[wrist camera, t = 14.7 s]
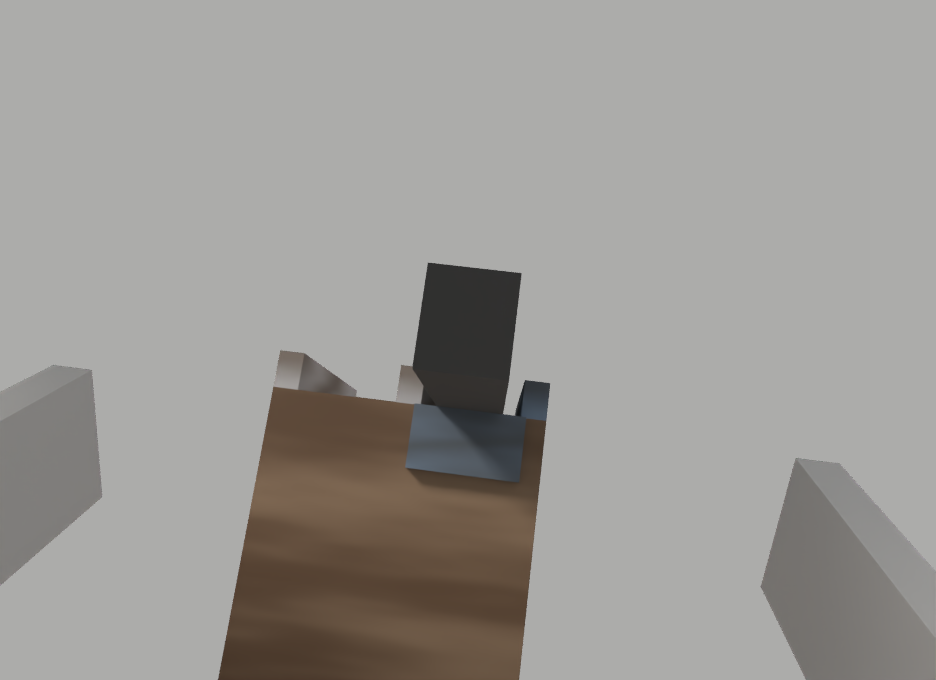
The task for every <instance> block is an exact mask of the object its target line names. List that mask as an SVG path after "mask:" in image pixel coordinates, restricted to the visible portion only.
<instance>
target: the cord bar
mask: <svg viewBox="0 0 936 680" xmlns="http://www.w3.org/2000/svg"><path fill="white" fill-rule="evenodd" d="M520 281H521V273H514V272H506V271H497V270H488V269H479V268H470V267H462V266H453V265H443V264H435V263H428V267H427V273H426V280H425V286H424V293H423V300H422V307H421V314H420V320H419V327H418V334H417V341H416V347H415V354H414V361H413V368H412V369H413V371H414V372H415V374H416V375H417V377H418V378H419V380H420V381H421V383H422V384H423V386H424V387H425V389H426V390H427V392H428V393H429V395H430V397H431V398H432V400H433V401H434V403H435V404H436V406H440V407H448V408H456V409H464V410H472V411H480V412H488V413H496V414H503V410H504V405H505V399H506V394H507V388H508V383H509V375H510V367H511V358H512V350H513V341H514V332H515V324H516V315H517V307H518V298H519V289H520Z"/></svg>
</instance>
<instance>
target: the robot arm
mask: <svg viewBox="0 0 936 680" xmlns="http://www.w3.org/2000/svg"><path fill="white" fill-rule="evenodd" d="M101 497H102V489H101V476H100V464H99V452H98V440H97V428H96V415H95V403H94V392H93V379H92V370H88V369H80V368H72V367H64V366H56V365H53V366H51V367H49V368H47V369H45V370H43V371H41V372H39V373H37V374H35V375H33V376H31V377H29V378H27V379H25V380H23V381H21V382H19V383H17V384H15V385H13V386H11V387H9V388H7V389H5V390H3V391H1V392H0V585H1V584H2V583H4V582H5V581H6V580H7V579H8V578H9V577H10V576H11V575H13V574H14V573H15V572H16V571H17V570H19V569H20V568H21V567H22V566H23V565H24V564H25V563H27V562H28V561H29V560H30V559H31V558H32V557H34V556H35V555H36V554H37V553H38V552H39V551H40V550H41V549H43V548H44V547H45V546H46V545H47V544H48V543H49V542H51V541H52V540H53V539H54V538H55V537H57V536H58V535H59V534H60V533H61V532H62V531H63V530H65V529H66V528H67V527H68V526H69V525H70V524H71V523H73V522H74V521H75V520H76V519H77V518H78V517H80V516H81V515H82V514H83V513H84V512H85V511H86V510H88V509H89V508H90V507H91V506H92V505H93V504H95V502H97V501H98V500H99V499H100V498H101ZM761 588H762V590H763V592H764V594H765V596H766V598H767V600H768V602H769V604H770V607H771V609H772V611H773V612H774V615H775V617H776V619H777V621H778V623H779V625H780V627H781V629H782V631H783V633H784V635H785V637H786V639H787V641H788V643H789V646H790V647H791V650H792V652H793V654H794V655H795V658H796V660H797V662H798V664H799V666H800V668H801V670H802V672H803V674H804V676H805V679H806V680H936V571H935V570H934V569H933V568H932V567H931V566H930V564H929V563H928V562H927V561H926V560H925V559H924V558H923V557H922V556H921V554H920V553H919V552H918V551H917V550H916V549H915V548H914V547H913V545H912V544H911V543H910V542H909V541H908V540H907V539H906V538H905V536H904V535H903V534H902V533H901V532H900V531H899V530H898V529H897V528H896V526H895V525H894V524H893V523H892V522H891V521H890V520H889V518H888V517H887V516H886V515H885V514H884V513H883V512H882V511H881V509H880V508H879V507H878V506H877V505H876V504H875V503H874V502H873V501H872V499H871V498H870V497H869V496H868V495H867V494H866V493H865V492H864V490H863V489H862V488H861V487H860V486H859V485H858V484H857V483H856V481H855V480H854V479H853V478H852V477H851V476H850V475H849V474H848V472H847V471H846V470H845V469H844V468H843V467H842V466H841V465H840V464H839V463H830V462H823V461H814V460H807V459H799V458H796V459H795V463H794V467H793V470H792V474H791V477H790V481H789V485H788V489H787V492H786V496H785V500H784V504H783V507H782V511H781V515H780V518H779V522H778V525H777V529H776V533H775V537H774V540H773V544H772V548H771V551H770V555H769V559H768V563H767V566H766V570H765V573H764V577H763V581H762V585H761Z"/></svg>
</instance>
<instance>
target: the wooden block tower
mask: <svg viewBox="0 0 936 680" xmlns="http://www.w3.org/2000/svg"><path fill="white" fill-rule="evenodd" d="M412 368H413V367H412V366H404V365H401V371H400V378H399V385H398V391H397V398H396V402H391V401H384V400H376V399H368V398H360V397H356V390H355V389H354V388H352V387H351V386H349V385H348V384H347V383H345V382H344V381H342V380H341V379H340V378H338V377H337V376H335V375H334V374H332V373H331V372H330V371H328V370H327V369H326V368H324V367H322V366H321V365H320V364H319V363H317V362H316V361H314V360H313V359H312V358H310V357H309V356H307V355H306V354H304V353H298V352H289V351H280V355H279V360H278V366H277V371H276V376H275V382H274V387H273V392H272V398H271V403H270V409H269V413H268V419H267V425H266V429H265V434H264V440H263V445H262V451H261V456H260V461H259V466H258V472H257V477H256V482H255V487H254V493H253V499H252V503H251V509H250V514H249V519H248V524H247V530H246V535H245V540H244V546H243V551H242V557H241V562H240V567H239V572H238V578H237V583H236V588H235V593H234V599H233V604H232V609H231V615H230V620H229V626H228V631H227V636H226V641H225V647H224V652H223V657H222V662H221V667H220V673H219V678H218V680H519V674H520V665H521V655H522V646H523V636H524V626H525V617H526V608H527V598H528V588H529V579H530V570H531V560H532V551H533V541H534V532H535V531H534V530H535V522H536V513H537V503H538V493H539V484H540V475H541V465H542V456H543V446H544V436H545V427H546V418H547V408H548V398H549V389H550V383H543V382H535V381H527V380H525V382H524V385H523V389H522V392H521V395H520V398H519V402H518V405H517V408H516V413H515V416H511V415H504V414H496V413H488V412H480V411H472V410H464V409H456V408H448V407H440V406H436V404H435V403H434V401H433V400H432V398H431V397H430V395H429V393H428V392H427V390H426V389H425V387H424V386H423V384H422V383H421V381H420V380H419V378H418V377H417V375H416V374H415V372H414V371H413V369H412Z"/></svg>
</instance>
